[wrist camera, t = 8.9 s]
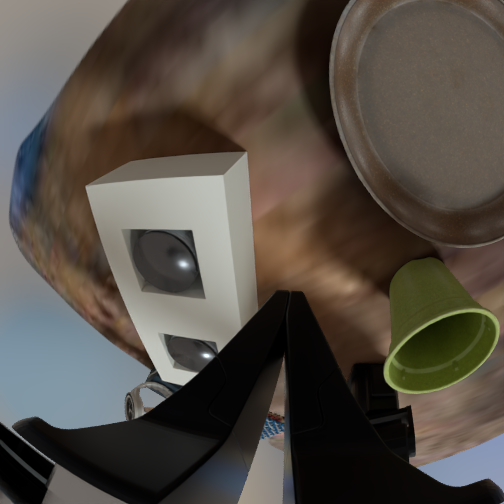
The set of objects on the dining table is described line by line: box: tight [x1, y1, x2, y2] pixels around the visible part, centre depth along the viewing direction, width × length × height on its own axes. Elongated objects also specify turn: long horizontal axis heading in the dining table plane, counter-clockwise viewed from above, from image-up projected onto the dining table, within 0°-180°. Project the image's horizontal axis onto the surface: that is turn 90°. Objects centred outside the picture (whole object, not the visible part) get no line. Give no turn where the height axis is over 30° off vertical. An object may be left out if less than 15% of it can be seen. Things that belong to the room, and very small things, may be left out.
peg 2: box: [167, 335, 218, 372], centre depth 26 cm, size 5×5×6 cm
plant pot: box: [384, 257, 499, 394], centre depth 19 cm, size 9×9×9 cm
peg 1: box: [133, 229, 200, 292], centre depth 21 cm, size 5×5×6 cm
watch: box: [125, 367, 183, 421], centre depth 33 cm, size 6×8×11 cm
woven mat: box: [260, 412, 284, 439], centre depth 41 cm, size 10×11×2 cm
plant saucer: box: [329, 0, 504, 248], centre depth 13 cm, size 21×21×3 cm
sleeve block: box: [85, 152, 258, 386], centre depth 24 cm, size 22×10×6 cm, turn 3°
